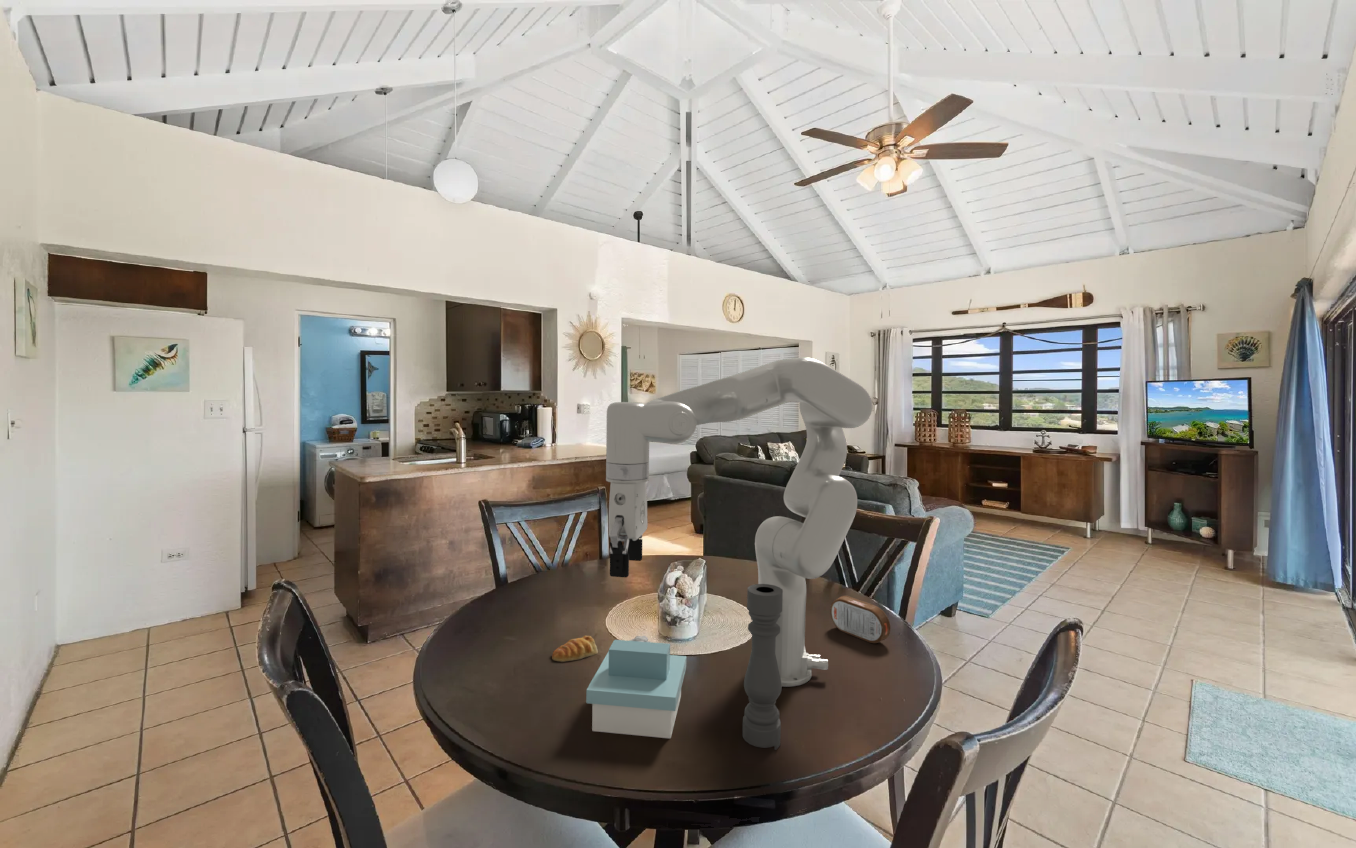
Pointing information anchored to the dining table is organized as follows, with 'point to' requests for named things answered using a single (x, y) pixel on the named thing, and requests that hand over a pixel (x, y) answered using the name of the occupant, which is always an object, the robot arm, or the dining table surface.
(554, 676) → the dining table surface
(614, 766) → the dining table surface
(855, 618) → the tin
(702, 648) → the dining table surface
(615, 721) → the tub
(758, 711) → the candle holder
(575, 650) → the pastry
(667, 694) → the lid
